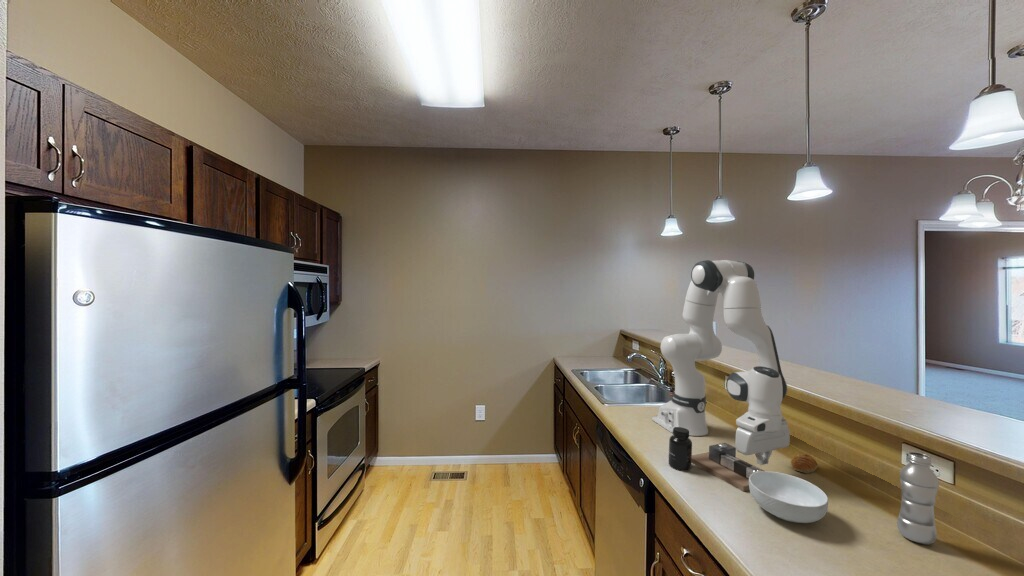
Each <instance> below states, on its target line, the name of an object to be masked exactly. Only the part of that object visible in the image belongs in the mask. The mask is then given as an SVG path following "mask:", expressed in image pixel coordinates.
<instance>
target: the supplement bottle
mask: <svg viewBox="0 0 1024 576" xmlns="http://www.w3.org/2000/svg"><path fill="white" fill-rule="evenodd" d="M692 455H693V442H692V440H691V439H690V435H689V430H687V429H685V428H682V427H674V428H673V433H672V435H671V436H670V437H669V440H668V465H669V466H670V467H671V468H672V467H673V469H674V468H675V470H677V469H678V470H677V471H681V470H687V471H690V470H691V468H692V463H691V460H692Z"/></svg>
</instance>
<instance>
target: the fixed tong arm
mask: <svg viewBox="0 0 1024 576" xmlns="http://www.w3.org/2000/svg"><path fill="white" fill-rule="evenodd" d="M721 465H723V466H725V467H727V468H729V469H731V470H733V471H734V472H736V473H738V474H740V475H741V476H743V477H745V478H748V479H749V477H750V475H751V474H753V473H755V472H757V471H756V470H754V469H752V468H750V467H749V466H747V465H745V464H743V463H741V462H739V461H736V460H734V459H731V458H729V457H727V456H725V455H721Z"/></svg>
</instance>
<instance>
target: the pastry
mask: <svg viewBox="0 0 1024 576" xmlns="http://www.w3.org/2000/svg"><path fill="white" fill-rule="evenodd" d="M790 463H791V466H792V469H793V470H794V471H796V472H797V471H798V472H801V473H803V474H810V472H811V473H815V471H816V470H817V469H818V468H819V464H818V463H817V461H816V460H815V459H814V457H813V456H811V454H810V455H809V454H808V453H798V454H796V455H795V456H793V457H792V459H791V460H790Z"/></svg>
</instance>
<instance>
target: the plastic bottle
mask: <svg viewBox="0 0 1024 576" xmlns="http://www.w3.org/2000/svg"><path fill="white" fill-rule="evenodd" d="M907 455H908V457H907V461H908V463H907V464H905V465H903V467H902V468H900V471H899V480H900V488H901V503H900V507H899V508H900V510H899V514H898V517H897V520H896V528H897V530H898V532H899V533H900V535H901V536H902V537H904V538H906V540H910V541H912V542H914V543H918V544H921V545H927V546H929V545H933V543H935V542H936V539H937V537H938V533H937V527H936V522H935V505H936V498H937V495H938V491H939V485H940V480H939V477H938V476H937V475H936V474H935V472H934V471H933V470H932V468H930V467H932V459H931V457H930V456H929V455H927V454H925V453H922V452H917V451H916V452H915V451H910V452H909V451H908V454H907Z"/></svg>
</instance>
